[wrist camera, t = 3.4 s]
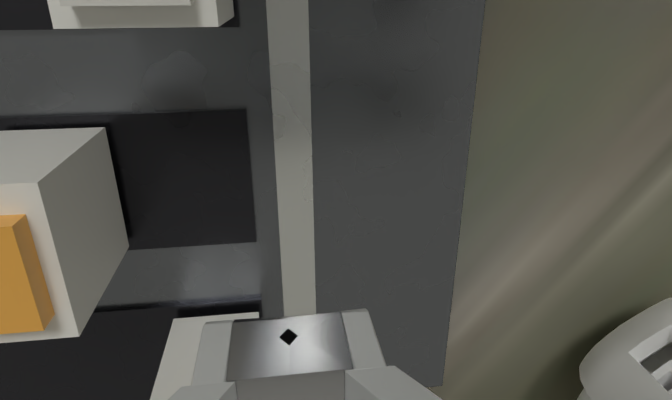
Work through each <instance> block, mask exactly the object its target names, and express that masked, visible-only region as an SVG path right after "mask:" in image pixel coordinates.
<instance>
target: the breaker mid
mask: <svg viewBox="0 0 672 400" xmlns="http://www.w3.org/2000/svg"><path fill="white" fill-rule="evenodd" d="M128 248H129V243H128V238H127V233H126V228H125V223H124V218H123V213H122V208H121V203H120V198H119V193H118V188H117V184H116V179H115V174H114V169H113V164H112V159H111V154H110V149H109V144H108V139H107V134H106V129H105V127H94V128H66V129H38V130H9V131H0V343H9V342H21V341H33V340H45V339H57V338H69V337H80V335H81V333H82V331H83V329H84V327H85V326H86V324H87V322H88V320H89V318H90V317H91V315H92V313H93V311H94V309H95V308H96V306H97V304H98V302H99V300H100V299H101V297H102V295H103V293H104V291H105V289H106V288H107V286H108V284H109V282H110V280H111V279H112V277H113V275H114V273H115V271H116V270H117V268H118V266H119V264H120V262H121V260H122V259H123V257H124V255H125V253H126V251H127V250H128Z"/></svg>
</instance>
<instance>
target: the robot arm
mask: <svg viewBox="0 0 672 400" xmlns="http://www.w3.org/2000/svg"><path fill="white" fill-rule="evenodd" d="M168 400H443V399H441V398H440V397H438V396H437V395H435V394H434V393H433V392H431V391H430V390H428V389H427V388H426V387H424V386H423V385H421V384H420V383H418V382H417V381H416V380H414V379H413V378H411V377H410V376H409V375H407V374H406V373H404V372H403V371H402V370H400V369H399V368H397V367H396V366H386V363H385V360H384V357H383V354H382V351H381V348H380V345H379V342H378V339H377V336H376V333H375V330H374V327H373V324H372V321H371V318H370V315H369V311H368V310H367V309H366V308H362V309H354V310H345V311H340V312H333V313H322V314H312V315H301V316H291V317H288V316H283V317H267V318H251V319H235V320H234V321H233V320H223V321H211V322H206V323H205V324H204V326H203V328H202V333H201V337H200V342H199V347H198V352H197V357H196V361H195V366H194V371H193V376H192V381H191V385H190V386H183V387H181V388H180V389H179V390H178V391H176V392H175V393H174V394H173V395H172V396H171V397H170V398H169V399H168Z"/></svg>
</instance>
